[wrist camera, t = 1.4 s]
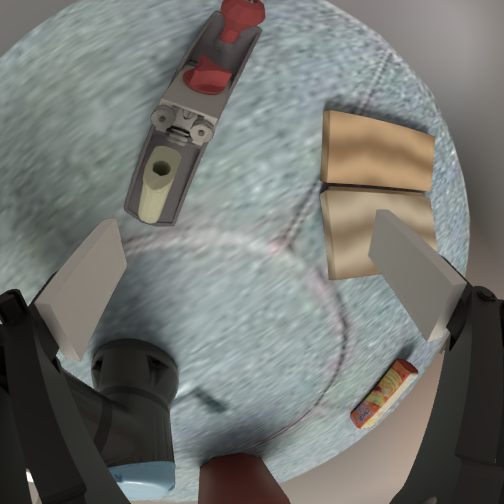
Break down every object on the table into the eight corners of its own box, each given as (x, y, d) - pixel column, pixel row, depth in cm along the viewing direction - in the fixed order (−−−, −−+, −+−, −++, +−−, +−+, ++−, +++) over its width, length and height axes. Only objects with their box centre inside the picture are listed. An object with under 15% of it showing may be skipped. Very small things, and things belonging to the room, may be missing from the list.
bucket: (258, 477, 67) (281, 539, 44) (188, 483, 60) (202, 550, 38) (276, 441, 59) (310, 520, 36) (189, 448, 53) (206, 538, 30)
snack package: (360, 414, 65) (372, 430, 59) (345, 415, 63) (357, 432, 56) (407, 358, 61) (422, 373, 54) (395, 356, 58) (410, 372, 52)
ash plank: (430, 265, 43) (438, 265, 41) (328, 280, 38) (336, 280, 36) (421, 195, 44) (428, 192, 42) (319, 188, 38) (325, 184, 36)
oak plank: (422, 189, 43) (430, 191, 41) (320, 180, 38) (327, 182, 36) (426, 135, 39) (434, 136, 38) (323, 111, 34) (330, 109, 32)
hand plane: (122, 214, 33) (89, 256, 20) (218, 7, 26) (242, -56, 12) (172, 230, 36) (169, 282, 22) (264, 26, 28) (311, -27, 15)
